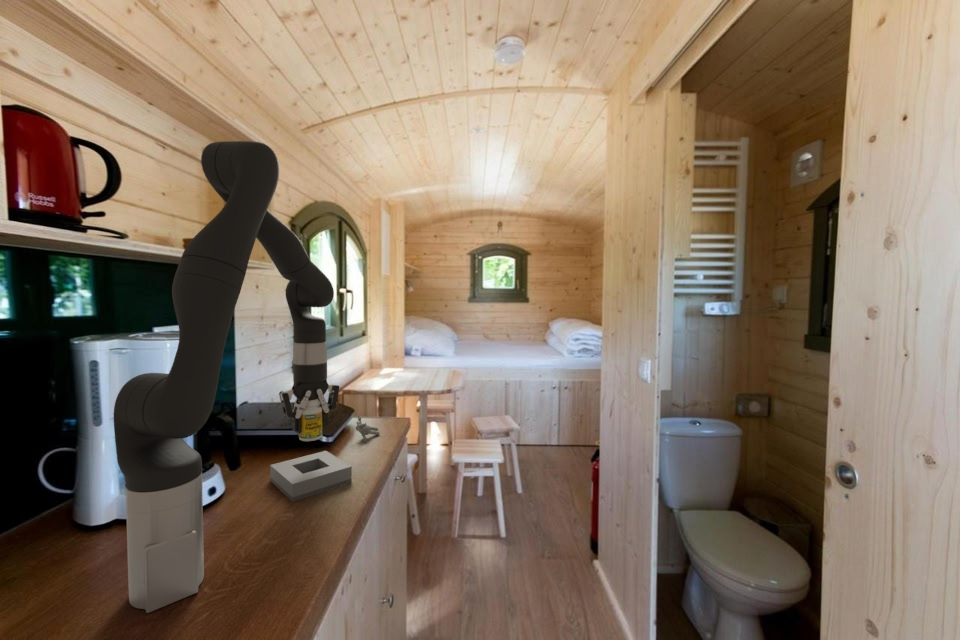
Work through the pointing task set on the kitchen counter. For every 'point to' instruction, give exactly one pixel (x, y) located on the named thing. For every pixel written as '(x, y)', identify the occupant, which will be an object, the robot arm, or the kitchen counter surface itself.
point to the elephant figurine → (366, 429)
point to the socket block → (310, 475)
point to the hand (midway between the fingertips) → (310, 429)
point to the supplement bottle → (311, 421)
